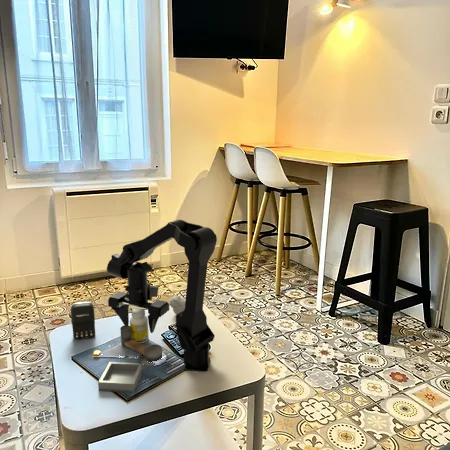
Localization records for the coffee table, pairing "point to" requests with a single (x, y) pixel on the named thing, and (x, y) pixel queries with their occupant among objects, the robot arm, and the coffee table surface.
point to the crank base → (131, 357)
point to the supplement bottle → (139, 325)
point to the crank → (140, 345)
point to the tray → (120, 377)
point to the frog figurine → (177, 304)
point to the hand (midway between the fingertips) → (139, 329)
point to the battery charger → (83, 320)
